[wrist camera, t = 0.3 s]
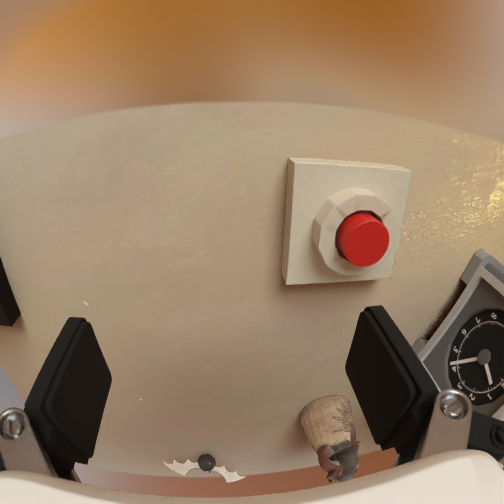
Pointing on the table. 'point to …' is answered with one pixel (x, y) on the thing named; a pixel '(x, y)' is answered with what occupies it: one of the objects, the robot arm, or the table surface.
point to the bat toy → (203, 467)
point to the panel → (7, 301)
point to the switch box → (338, 217)
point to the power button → (363, 239)
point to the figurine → (332, 436)
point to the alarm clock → (472, 340)
